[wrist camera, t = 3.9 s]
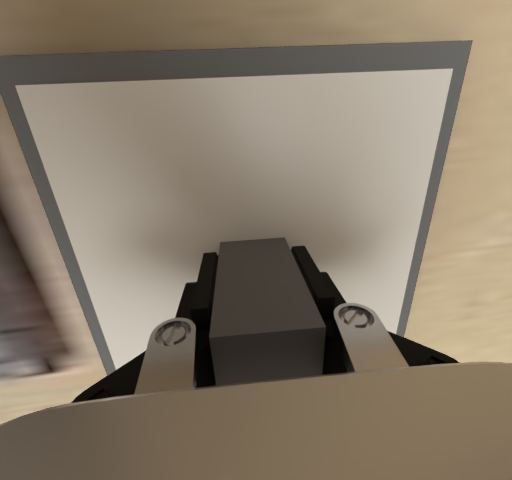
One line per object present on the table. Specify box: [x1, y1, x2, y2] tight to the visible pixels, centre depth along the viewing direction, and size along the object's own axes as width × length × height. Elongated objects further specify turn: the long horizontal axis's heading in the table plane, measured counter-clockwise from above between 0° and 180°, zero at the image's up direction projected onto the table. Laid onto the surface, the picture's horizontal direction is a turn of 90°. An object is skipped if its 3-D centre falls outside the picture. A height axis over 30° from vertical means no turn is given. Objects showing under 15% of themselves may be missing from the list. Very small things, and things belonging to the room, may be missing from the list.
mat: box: [0, 40, 473, 376], centre depth 14 cm, size 18×18×1 cm
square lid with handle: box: [15, 69, 453, 386], centre depth 10 cm, size 16×16×7 cm
